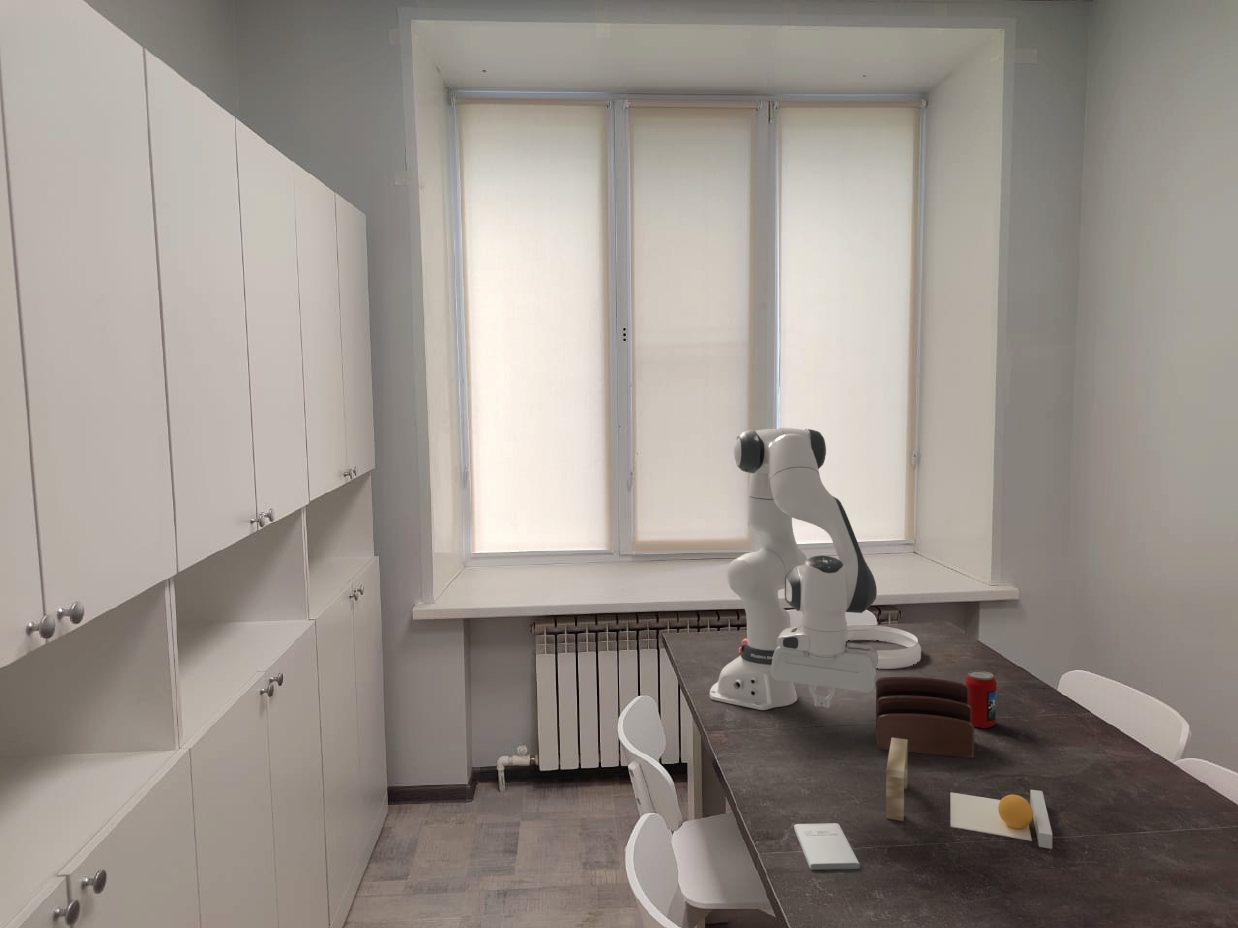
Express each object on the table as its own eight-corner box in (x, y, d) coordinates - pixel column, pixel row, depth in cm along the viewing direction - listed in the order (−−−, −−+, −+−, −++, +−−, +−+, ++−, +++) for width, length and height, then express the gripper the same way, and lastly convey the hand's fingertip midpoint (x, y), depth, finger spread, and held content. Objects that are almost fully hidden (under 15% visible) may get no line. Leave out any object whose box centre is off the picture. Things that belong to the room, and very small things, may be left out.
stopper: (1038, 846, 136) (1039, 832, 135) (1030, 801, 150) (1030, 789, 150) (1052, 848, 135) (1052, 834, 135) (1042, 803, 150) (1042, 791, 149)
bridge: (886, 817, 146) (886, 769, 145) (891, 781, 159) (891, 737, 159) (903, 820, 145) (903, 771, 144) (907, 784, 158) (907, 739, 157)
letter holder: (875, 731, 184) (875, 672, 183) (968, 740, 178) (968, 679, 177) (876, 750, 174) (876, 687, 173) (974, 759, 169) (975, 695, 167)
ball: (993, 821, 141) (1011, 799, 139) (990, 804, 146) (1008, 782, 144) (1023, 841, 140) (1041, 818, 138) (1019, 822, 145) (1037, 800, 143)
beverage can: (999, 730, 182) (1000, 679, 181) (968, 728, 184) (968, 678, 183) (991, 718, 189) (992, 669, 188) (961, 717, 190) (962, 668, 189)
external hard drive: (810, 872, 131) (794, 831, 143) (859, 871, 131) (839, 830, 143) (810, 863, 131) (793, 823, 143) (859, 862, 130) (839, 822, 143)
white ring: (813, 659, 235) (813, 641, 235) (844, 636, 257) (844, 619, 257) (906, 676, 220) (906, 656, 219) (930, 649, 242) (930, 632, 241)
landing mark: (950, 826, 142) (950, 825, 142) (950, 793, 154) (950, 792, 154) (1031, 840, 137) (1031, 839, 137) (1024, 804, 149) (1025, 803, 149)
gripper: (880, 640, 155) (878, 708, 157) (776, 628, 163) (775, 693, 165) (876, 650, 149) (874, 721, 151) (769, 637, 158) (768, 704, 159)
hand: (822, 706), depth 158 cm, fingers closed
